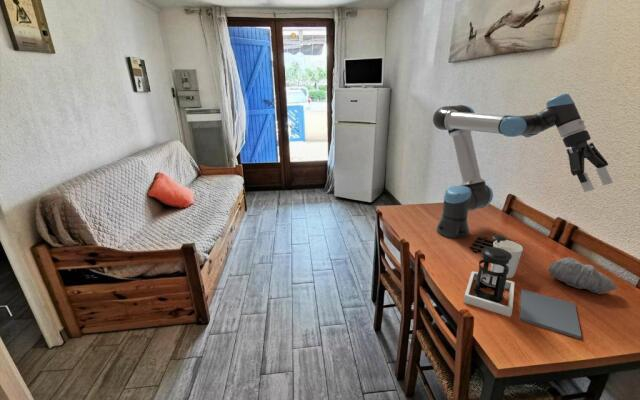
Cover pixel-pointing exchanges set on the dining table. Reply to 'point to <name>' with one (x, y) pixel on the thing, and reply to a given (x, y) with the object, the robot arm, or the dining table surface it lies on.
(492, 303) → the holder frame
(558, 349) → the dining table surface
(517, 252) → the candle holder
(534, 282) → the dining table surface
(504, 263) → the french press
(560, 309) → the slate mat
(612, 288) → the seashell
